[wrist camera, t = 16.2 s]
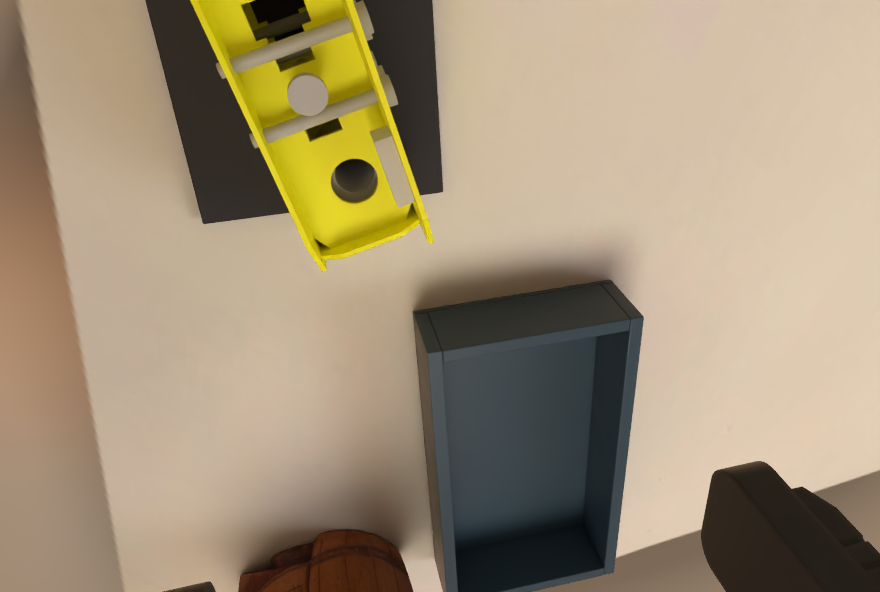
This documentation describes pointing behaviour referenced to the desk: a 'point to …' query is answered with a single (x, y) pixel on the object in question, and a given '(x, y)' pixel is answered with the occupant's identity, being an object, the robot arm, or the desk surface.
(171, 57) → the mat
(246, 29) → the yellow toy chassis
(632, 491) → the desk surface
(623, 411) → the bin
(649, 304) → the desk surface
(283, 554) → the wooden figurine
